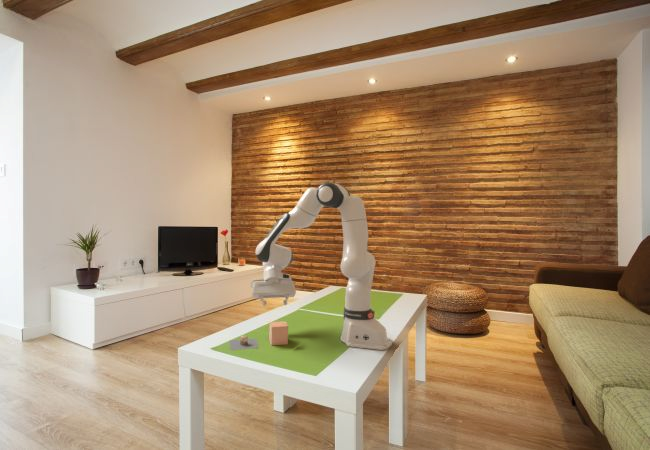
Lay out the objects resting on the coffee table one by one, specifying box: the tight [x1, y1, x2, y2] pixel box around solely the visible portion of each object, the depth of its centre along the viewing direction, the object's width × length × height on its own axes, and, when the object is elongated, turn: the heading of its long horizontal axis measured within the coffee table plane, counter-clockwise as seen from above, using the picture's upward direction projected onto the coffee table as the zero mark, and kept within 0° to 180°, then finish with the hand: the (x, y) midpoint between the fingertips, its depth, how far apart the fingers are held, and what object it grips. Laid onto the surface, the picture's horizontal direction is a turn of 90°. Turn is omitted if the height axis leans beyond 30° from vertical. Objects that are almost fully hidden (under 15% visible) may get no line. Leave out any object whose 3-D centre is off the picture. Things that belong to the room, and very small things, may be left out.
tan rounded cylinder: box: [239, 335, 249, 345], centre depth 144 cm, size 3×3×3 cm
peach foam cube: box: [268, 320, 289, 346], centre depth 148 cm, size 7×7×8 cm
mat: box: [229, 338, 260, 351], centre depth 144 cm, size 11×11×1 cm
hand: (275, 304), depth 160 cm, fingers open, 8 cm apart
